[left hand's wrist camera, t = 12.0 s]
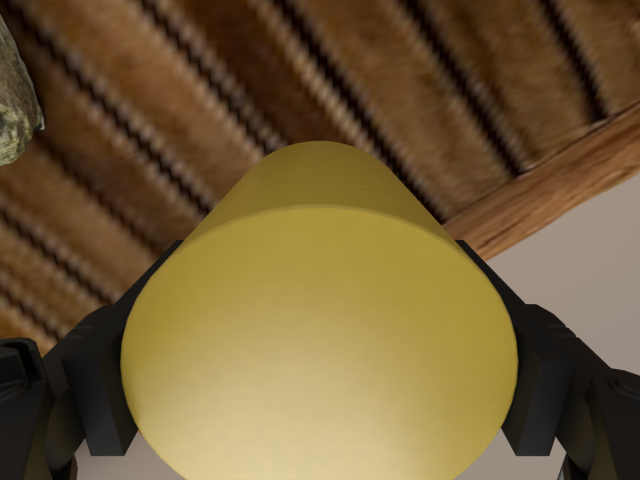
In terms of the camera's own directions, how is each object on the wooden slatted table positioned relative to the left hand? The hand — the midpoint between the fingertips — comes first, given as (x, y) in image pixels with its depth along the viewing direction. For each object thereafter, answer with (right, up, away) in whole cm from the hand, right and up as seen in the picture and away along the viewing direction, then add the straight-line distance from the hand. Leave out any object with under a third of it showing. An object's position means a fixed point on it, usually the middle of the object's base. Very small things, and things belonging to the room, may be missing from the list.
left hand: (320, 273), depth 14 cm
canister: (0, +1, +3) cm, 4 cm away
